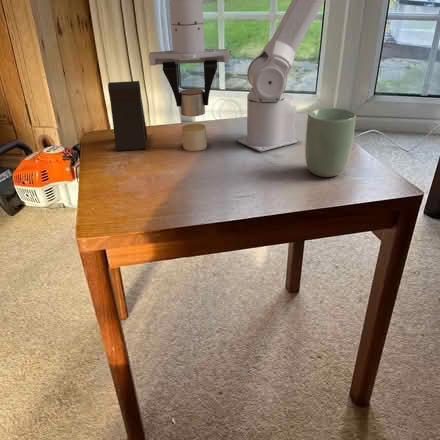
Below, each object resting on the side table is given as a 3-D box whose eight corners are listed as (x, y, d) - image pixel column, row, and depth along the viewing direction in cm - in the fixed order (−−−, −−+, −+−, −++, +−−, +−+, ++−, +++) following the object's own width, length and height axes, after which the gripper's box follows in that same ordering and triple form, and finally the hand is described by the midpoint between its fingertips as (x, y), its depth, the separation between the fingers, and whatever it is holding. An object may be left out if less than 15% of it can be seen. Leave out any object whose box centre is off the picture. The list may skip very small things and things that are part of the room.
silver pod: (197, 108, 91) (196, 87, 89) (209, 113, 88) (208, 91, 85) (176, 112, 89) (174, 91, 87) (188, 118, 86) (186, 95, 83)
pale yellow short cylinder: (199, 141, 95) (198, 122, 93) (211, 147, 92) (210, 127, 89) (179, 146, 93) (177, 126, 91) (190, 152, 90) (189, 132, 87)
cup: (310, 183, 76) (316, 122, 70) (297, 166, 82) (301, 109, 76) (355, 179, 77) (364, 118, 71) (338, 163, 83) (345, 106, 77)
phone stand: (145, 149, 92) (137, 86, 85) (116, 151, 91) (105, 88, 84) (147, 136, 99) (140, 76, 92) (120, 137, 99) (110, 78, 92)
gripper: (143, 27, 76) (153, 111, 84) (229, 24, 76) (230, 108, 84) (147, 23, 82) (155, 102, 90) (227, 19, 82) (228, 99, 90)
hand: (192, 104), depth 87 cm, fingers closed on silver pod, 5 cm apart
